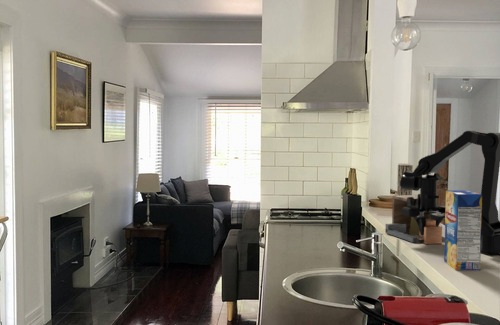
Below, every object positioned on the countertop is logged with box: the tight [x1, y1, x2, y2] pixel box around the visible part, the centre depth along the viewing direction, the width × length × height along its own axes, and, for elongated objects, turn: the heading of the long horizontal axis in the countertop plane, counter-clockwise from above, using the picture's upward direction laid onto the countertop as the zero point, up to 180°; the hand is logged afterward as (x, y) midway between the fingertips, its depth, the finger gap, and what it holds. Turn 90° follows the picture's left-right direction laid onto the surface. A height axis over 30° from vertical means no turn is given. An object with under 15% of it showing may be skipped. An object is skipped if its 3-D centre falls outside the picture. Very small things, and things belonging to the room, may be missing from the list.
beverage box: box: [443, 189, 482, 271], centre depth 160 cm, size 7×11×22 cm, turn 177°
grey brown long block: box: [384, 219, 443, 245], centre depth 203 cm, size 23×9×8 cm, turn 16°
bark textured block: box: [396, 162, 414, 196], centre depth 257 cm, size 7×7×25 cm
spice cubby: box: [391, 194, 439, 231], centre depth 215 cm, size 14×12×14 cm
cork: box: [408, 217, 419, 235], centre depth 214 cm, size 6×6×11 cm
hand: (427, 234), depth 196 cm, fingers closed on grey brown long block, 4 cm apart
